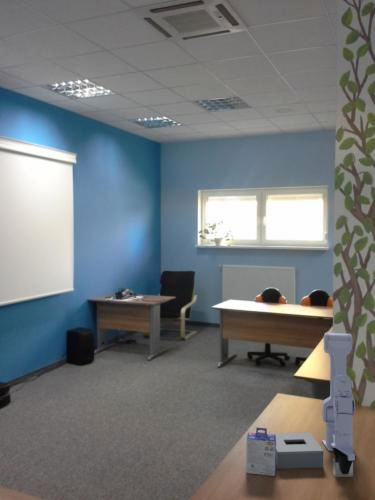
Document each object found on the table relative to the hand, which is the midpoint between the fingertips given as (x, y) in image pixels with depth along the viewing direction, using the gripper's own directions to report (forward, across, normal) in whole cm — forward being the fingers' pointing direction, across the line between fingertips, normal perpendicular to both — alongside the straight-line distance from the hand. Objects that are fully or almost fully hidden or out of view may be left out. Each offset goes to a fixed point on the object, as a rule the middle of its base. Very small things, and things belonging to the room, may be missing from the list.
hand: (342, 470), depth 158 cm
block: (+2, 0, 0) cm, 2 cm away
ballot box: (+1, -12, -13) cm, 18 cm away
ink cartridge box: (+2, -4, -27) cm, 27 cm away
